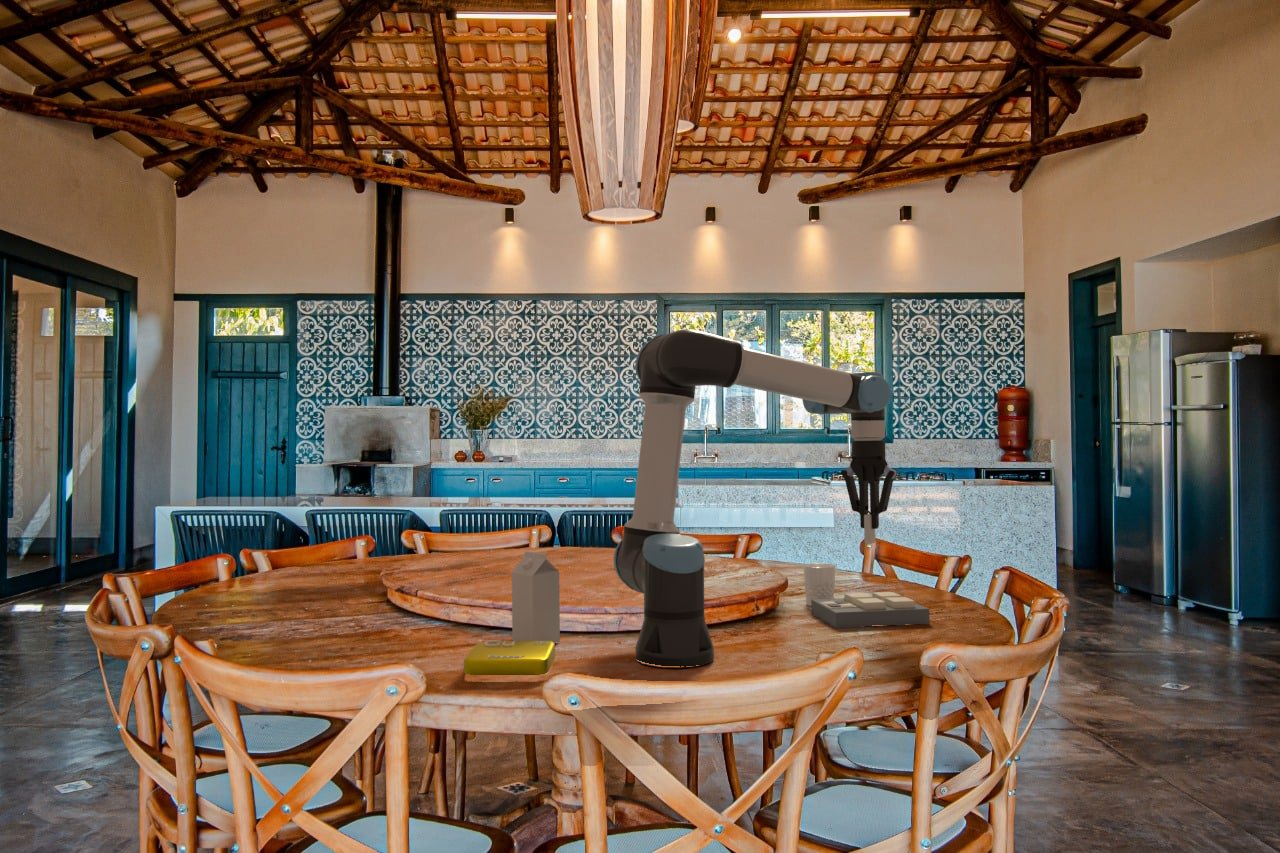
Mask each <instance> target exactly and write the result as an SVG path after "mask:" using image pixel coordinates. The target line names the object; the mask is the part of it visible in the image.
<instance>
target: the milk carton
mask: <svg viewBox="0 0 1280 853" xmlns="http://www.w3.org/2000/svg"><path fill="white" fill-rule="evenodd" d="M560 604H561V603H560V571H559V570H558V568H556V567H555V566H554V564H552V563H551V562H550V561H549V560H548V559H547V553H543V552H534V551H527V550H525V551H524V556H523V558H522V559H521V560H520V562H518V564H517V565H516V566H515V567H514V569H513V570H512V571H511V609H512V610H511V611H512V612H511V614H512V615H511V616H512V617H511V622H512V626H511V627H512V630H511V631H512V632H511V633H512V639H511V641H512V640H513V641H552V642H560V643H561V633H560V632H561V631H560V630H561V626H560V625H561V622H560V620H561V619H560V618H561V613H560V612H561V611H560V609H561V608H560V607H561V606H560Z"/></svg>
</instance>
